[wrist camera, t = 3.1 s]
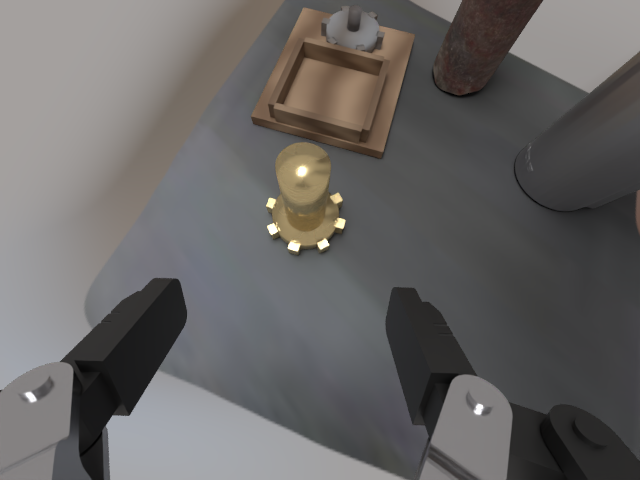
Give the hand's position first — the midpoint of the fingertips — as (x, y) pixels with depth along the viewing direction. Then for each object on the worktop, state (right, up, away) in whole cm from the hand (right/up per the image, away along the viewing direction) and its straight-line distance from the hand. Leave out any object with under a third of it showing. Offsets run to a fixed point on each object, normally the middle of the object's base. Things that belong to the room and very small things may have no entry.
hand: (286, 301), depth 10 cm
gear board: (+4, +23, +25) cm, 34 cm away
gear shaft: (0, +5, +18) cm, 19 cm away
